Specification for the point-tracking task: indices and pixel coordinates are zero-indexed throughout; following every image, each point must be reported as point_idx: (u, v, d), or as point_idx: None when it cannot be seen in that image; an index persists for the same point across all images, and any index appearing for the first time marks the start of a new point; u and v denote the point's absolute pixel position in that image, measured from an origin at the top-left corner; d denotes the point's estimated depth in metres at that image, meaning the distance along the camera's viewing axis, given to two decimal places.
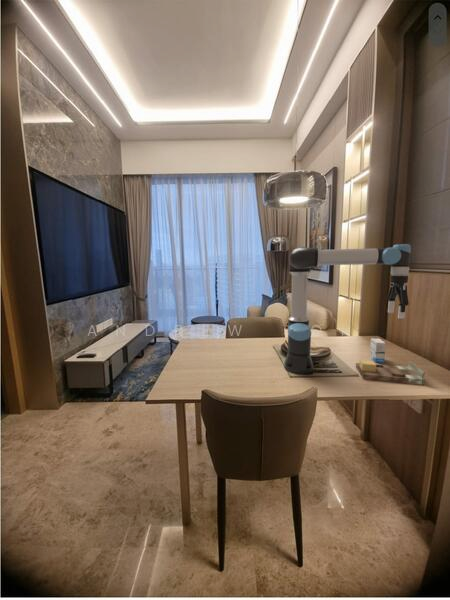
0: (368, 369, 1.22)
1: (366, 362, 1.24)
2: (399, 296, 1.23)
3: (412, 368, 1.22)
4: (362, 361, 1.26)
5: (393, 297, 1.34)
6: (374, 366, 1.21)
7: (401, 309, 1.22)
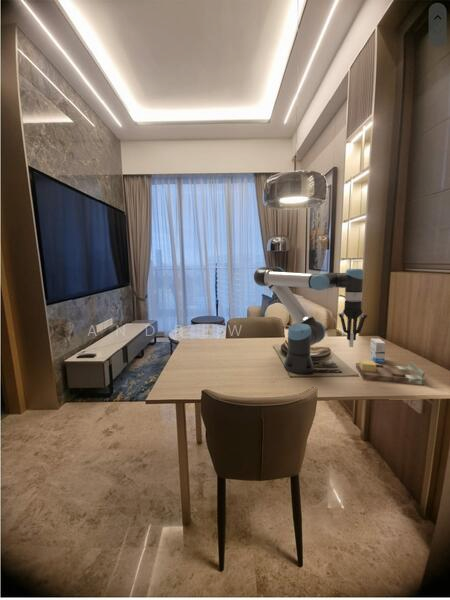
0: (368, 369, 1.22)
1: (366, 362, 1.24)
2: (347, 323, 1.25)
3: (412, 368, 1.22)
4: (362, 361, 1.26)
5: (353, 327, 1.23)
6: (374, 366, 1.21)
7: None
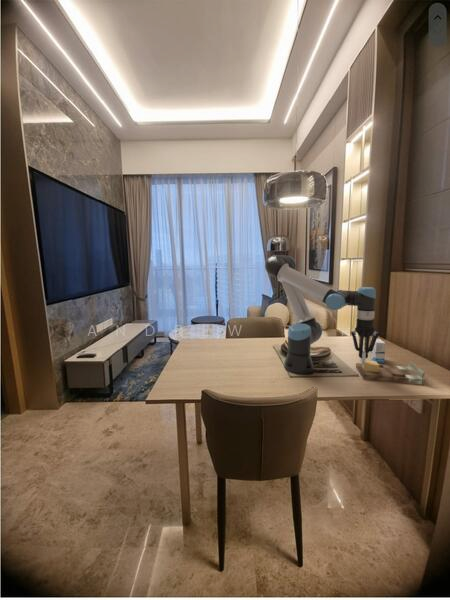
0: (371, 369, 1.22)
1: (369, 362, 1.24)
2: (359, 341, 1.25)
3: (412, 368, 1.22)
4: (365, 361, 1.25)
5: (365, 345, 1.23)
6: (377, 366, 1.21)
7: None
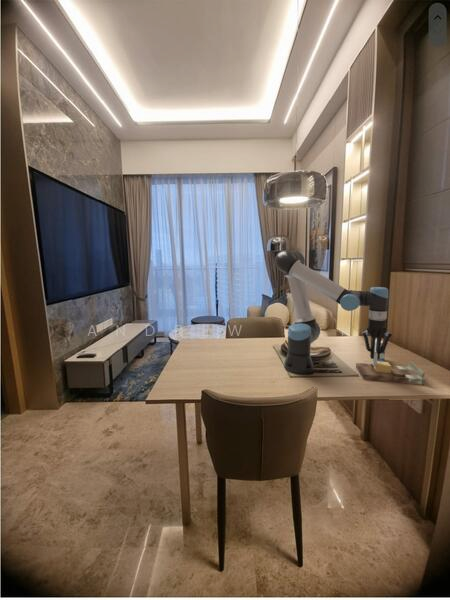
0: (383, 370, 1.21)
1: (381, 363, 1.23)
2: None
3: (412, 368, 1.22)
4: (377, 362, 1.24)
5: (377, 346, 1.22)
6: (389, 367, 1.20)
7: None
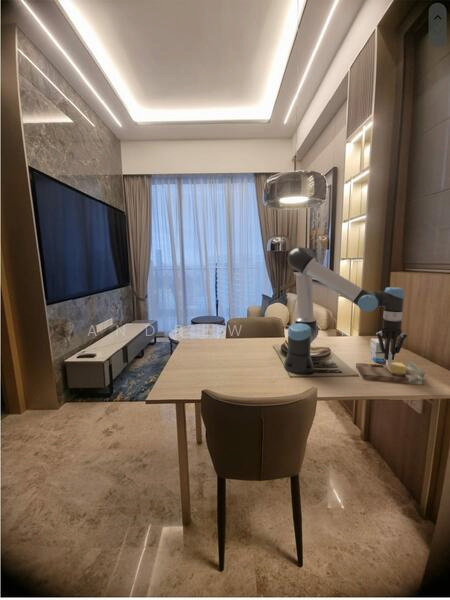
0: (398, 371, 1.19)
1: (395, 364, 1.21)
2: (385, 342, 1.22)
3: (412, 368, 1.22)
4: None
5: (391, 347, 1.20)
6: (404, 368, 1.18)
7: None
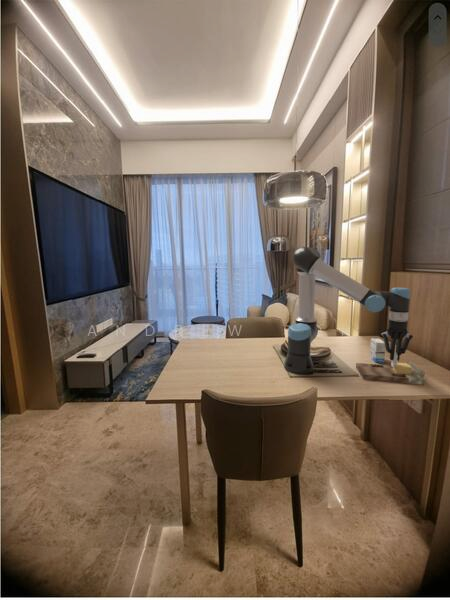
0: (403, 372, 1.19)
1: (401, 365, 1.20)
2: None
3: (412, 368, 1.22)
4: None
5: (397, 347, 1.20)
6: (410, 369, 1.18)
7: None
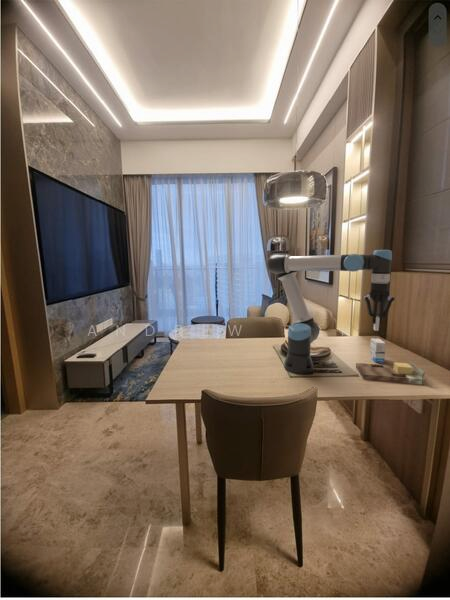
0: (404, 372, 1.18)
1: (401, 365, 1.20)
2: None
3: None
4: (397, 363, 1.22)
5: (379, 310, 1.20)
6: (410, 369, 1.18)
7: None
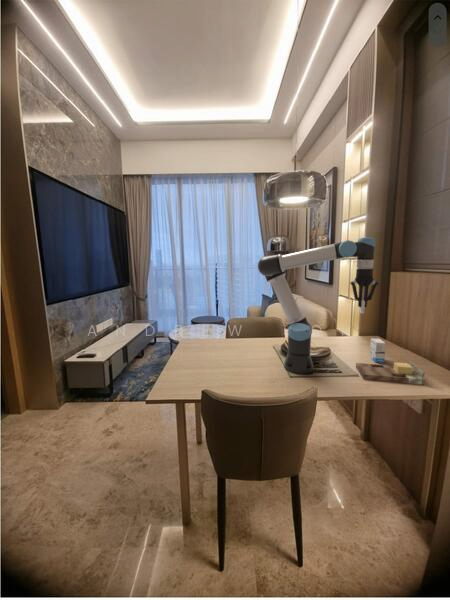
0: (404, 372, 1.18)
1: (401, 365, 1.20)
2: None
3: None
4: (397, 363, 1.22)
5: (364, 294, 1.29)
6: (410, 369, 1.18)
7: None
